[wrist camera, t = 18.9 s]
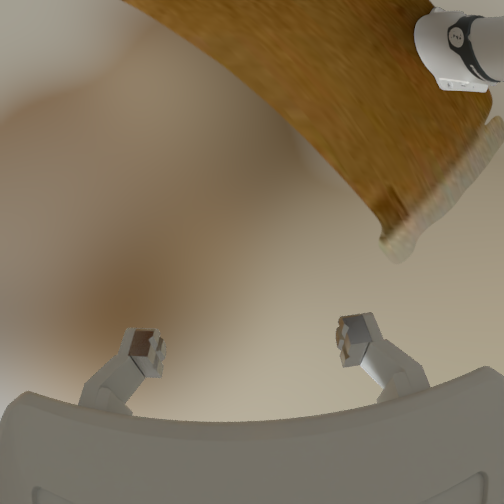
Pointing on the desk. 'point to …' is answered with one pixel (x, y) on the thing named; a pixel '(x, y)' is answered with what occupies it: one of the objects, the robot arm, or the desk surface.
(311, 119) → the desk surface
